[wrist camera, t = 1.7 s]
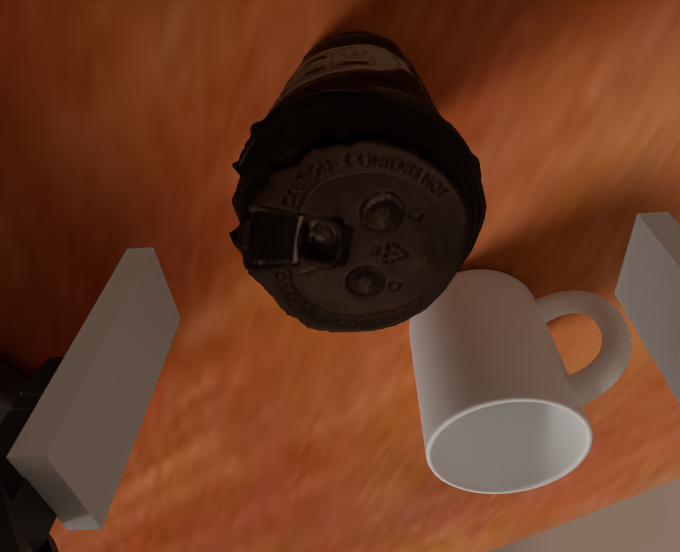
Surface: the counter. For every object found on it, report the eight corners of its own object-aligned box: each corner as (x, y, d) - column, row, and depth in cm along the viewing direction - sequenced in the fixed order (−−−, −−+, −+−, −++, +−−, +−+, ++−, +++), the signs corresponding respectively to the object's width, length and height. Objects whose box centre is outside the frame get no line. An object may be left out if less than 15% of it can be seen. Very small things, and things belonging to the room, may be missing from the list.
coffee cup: (228, 86, 26) (152, 235, 16) (357, -45, 22) (366, 35, 12) (346, 203, 30) (347, 382, 20) (471, 106, 26) (551, 262, 16)
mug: (564, 211, 30) (645, 341, 22) (609, 302, 34) (691, 439, 26) (383, 301, 34) (396, 438, 26) (443, 372, 39) (470, 509, 30)
